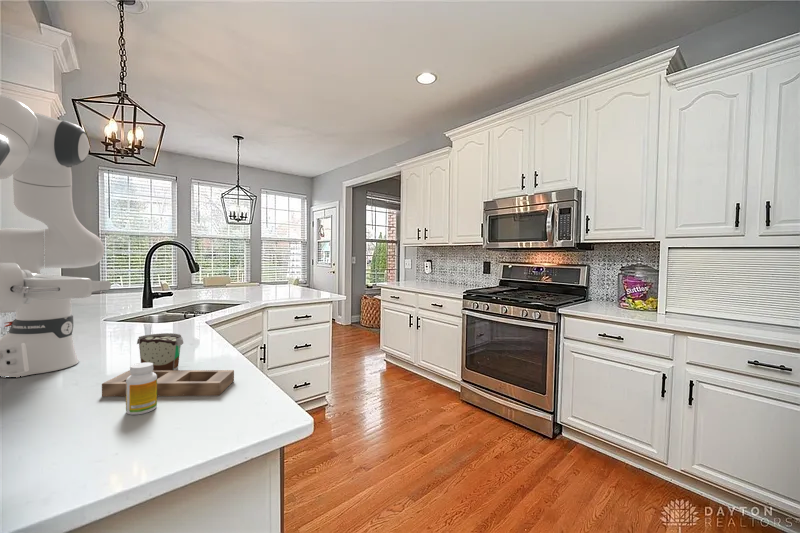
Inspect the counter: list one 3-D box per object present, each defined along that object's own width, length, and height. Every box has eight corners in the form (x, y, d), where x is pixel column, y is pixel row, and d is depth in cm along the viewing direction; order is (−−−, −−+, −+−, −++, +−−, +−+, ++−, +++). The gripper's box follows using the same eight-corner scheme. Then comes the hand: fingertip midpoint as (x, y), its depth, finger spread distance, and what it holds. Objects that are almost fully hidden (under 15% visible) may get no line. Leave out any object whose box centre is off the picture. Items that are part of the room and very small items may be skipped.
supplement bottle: (162, 407, 77) (162, 363, 77) (135, 417, 72) (135, 370, 72) (147, 402, 79) (147, 359, 79) (120, 412, 74) (120, 366, 74)
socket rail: (101, 396, 82) (101, 383, 82) (128, 381, 91) (128, 370, 91) (219, 395, 84) (219, 383, 84) (233, 381, 94) (234, 370, 93)
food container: (193, 368, 103) (193, 334, 103) (178, 375, 97) (178, 338, 97) (154, 365, 104) (154, 331, 104) (136, 372, 98) (136, 336, 98)
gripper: (25, 271, 57) (123, 270, 70) (-19, 268, 67) (74, 268, 79) (25, 310, 57) (123, 302, 70) (-19, 301, 67) (74, 296, 79)
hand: (97, 284), depth 74 cm, fingers open, 8 cm apart
